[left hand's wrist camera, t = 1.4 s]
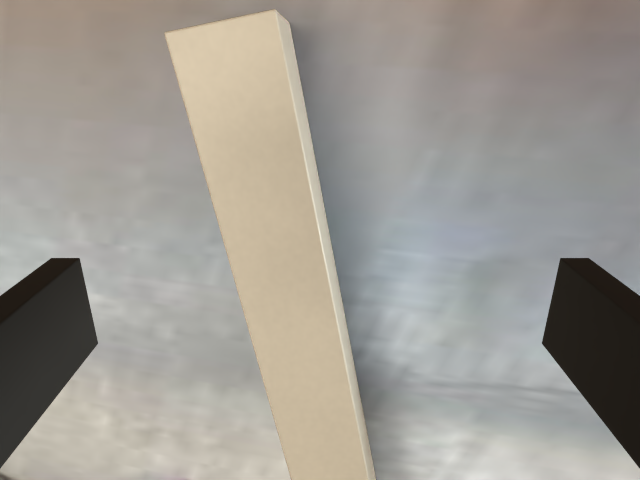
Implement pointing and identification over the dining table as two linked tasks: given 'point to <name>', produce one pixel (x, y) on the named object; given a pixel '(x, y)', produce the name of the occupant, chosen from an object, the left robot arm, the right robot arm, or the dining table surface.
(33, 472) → the dining table surface
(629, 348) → the left robot arm
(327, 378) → the post
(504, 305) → the dining table surface
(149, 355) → the dining table surface
